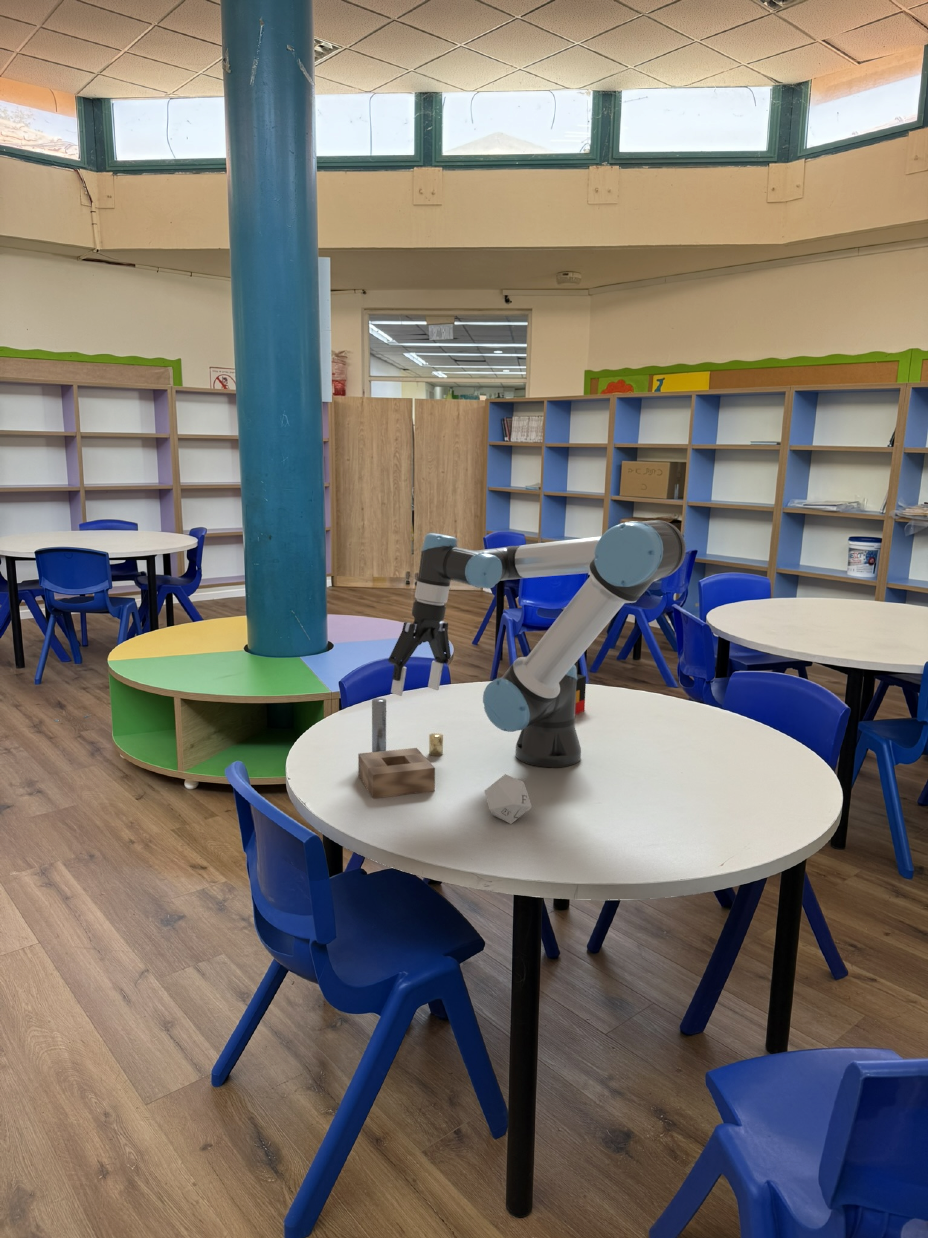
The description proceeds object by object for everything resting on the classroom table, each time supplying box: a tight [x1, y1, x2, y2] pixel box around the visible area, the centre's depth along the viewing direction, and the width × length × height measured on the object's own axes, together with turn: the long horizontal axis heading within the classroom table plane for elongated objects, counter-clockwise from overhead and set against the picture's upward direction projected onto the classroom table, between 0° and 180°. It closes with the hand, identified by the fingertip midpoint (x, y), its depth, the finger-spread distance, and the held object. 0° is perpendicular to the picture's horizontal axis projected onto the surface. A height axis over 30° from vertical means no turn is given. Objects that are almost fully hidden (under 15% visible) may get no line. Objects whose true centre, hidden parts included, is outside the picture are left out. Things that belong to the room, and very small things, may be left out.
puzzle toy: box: [575, 674, 587, 716], centre depth 227 cm, size 10×10×10 cm
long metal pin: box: [371, 697, 387, 752], centre depth 185 cm, size 3×3×14 cm
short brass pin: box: [428, 732, 444, 757], centre depth 191 cm, size 3×3×4 cm
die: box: [484, 773, 533, 825], centre depth 156 cm, size 8×9×10 cm
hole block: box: [357, 747, 436, 799], centre depth 172 cm, size 13×13×5 cm
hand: (415, 691), depth 190 cm, fingers open, 13 cm apart
